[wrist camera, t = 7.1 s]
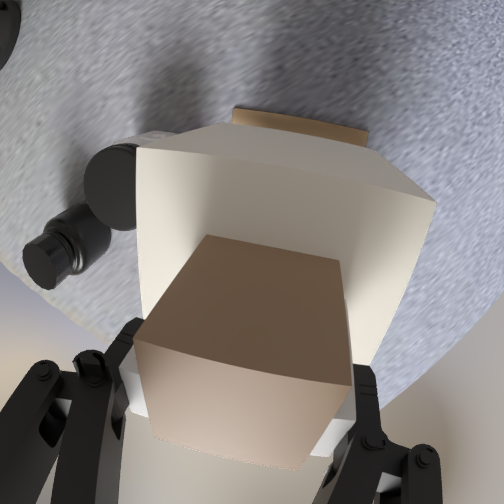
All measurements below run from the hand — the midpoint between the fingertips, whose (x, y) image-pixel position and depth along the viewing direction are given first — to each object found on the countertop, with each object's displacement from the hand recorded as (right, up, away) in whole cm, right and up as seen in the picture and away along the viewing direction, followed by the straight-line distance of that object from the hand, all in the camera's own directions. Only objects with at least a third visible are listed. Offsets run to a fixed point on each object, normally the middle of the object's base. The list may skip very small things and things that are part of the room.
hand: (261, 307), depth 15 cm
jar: (-11, +14, +22) cm, 28 cm away
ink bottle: (-25, +6, +29) cm, 39 cm away
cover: (+3, +7, +14) cm, 15 cm away
